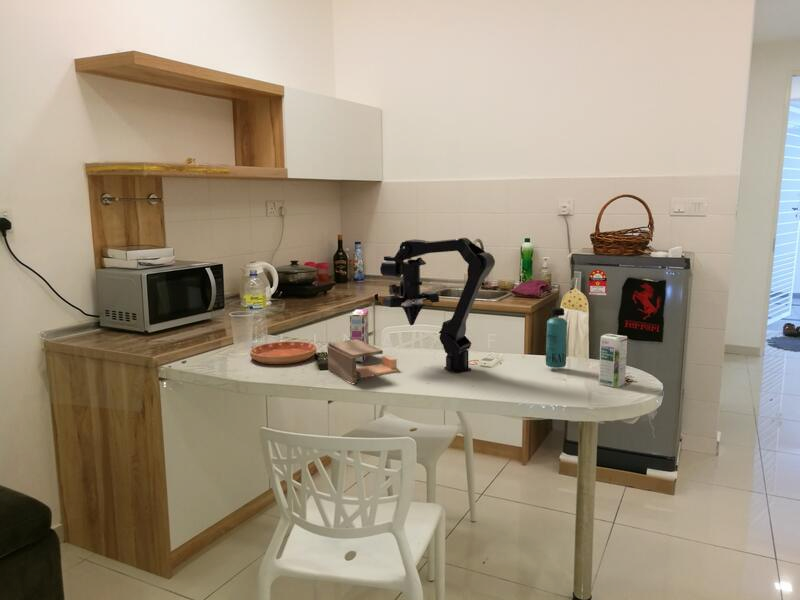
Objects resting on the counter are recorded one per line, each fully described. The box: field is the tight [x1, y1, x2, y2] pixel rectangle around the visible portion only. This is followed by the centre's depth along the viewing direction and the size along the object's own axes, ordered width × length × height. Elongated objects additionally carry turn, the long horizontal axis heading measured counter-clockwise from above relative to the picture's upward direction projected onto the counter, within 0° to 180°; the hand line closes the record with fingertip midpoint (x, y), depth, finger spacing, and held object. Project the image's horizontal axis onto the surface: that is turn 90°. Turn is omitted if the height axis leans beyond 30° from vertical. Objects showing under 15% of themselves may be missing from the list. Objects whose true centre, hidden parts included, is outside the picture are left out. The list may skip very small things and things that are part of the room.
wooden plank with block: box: [356, 355, 400, 378], centre depth 200 cm, size 14×9×4 cm, turn 120°
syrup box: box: [598, 333, 628, 389], centre depth 182 cm, size 6×6×14 cm
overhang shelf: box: [326, 339, 384, 384], centre depth 196 cm, size 10×18×9 cm, turn 30°
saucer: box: [249, 340, 317, 365], centre depth 219 cm, size 23×23×4 cm
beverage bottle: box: [544, 307, 568, 369], centre depth 197 cm, size 6×7×20 cm
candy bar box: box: [349, 309, 370, 363], centre depth 215 cm, size 11×5×16 cm, turn 174°
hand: (411, 325), depth 207 cm, fingers closed
